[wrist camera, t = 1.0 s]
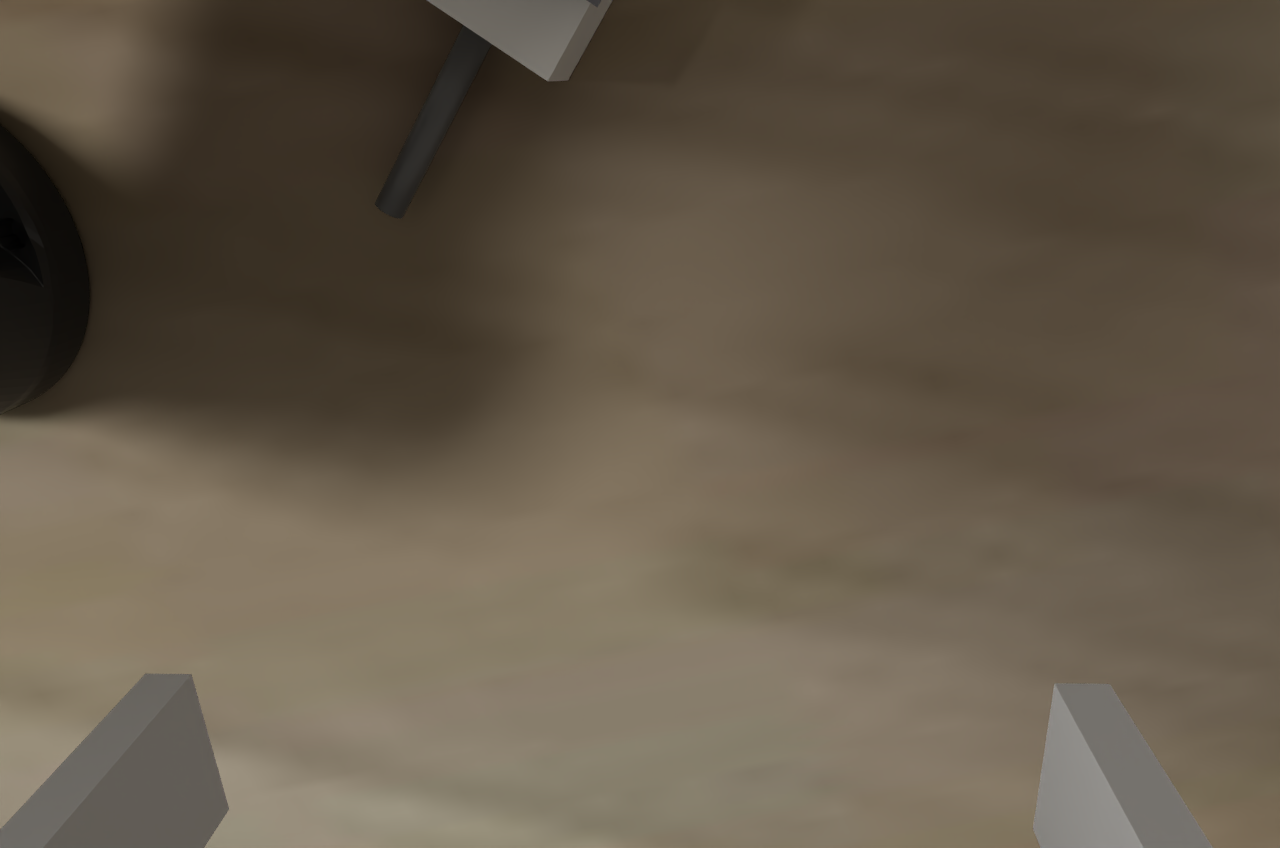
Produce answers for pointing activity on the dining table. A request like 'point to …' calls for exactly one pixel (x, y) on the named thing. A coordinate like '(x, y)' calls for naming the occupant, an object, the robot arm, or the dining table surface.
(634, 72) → the dining table surface
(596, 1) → the block
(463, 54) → the rocker switch panel
